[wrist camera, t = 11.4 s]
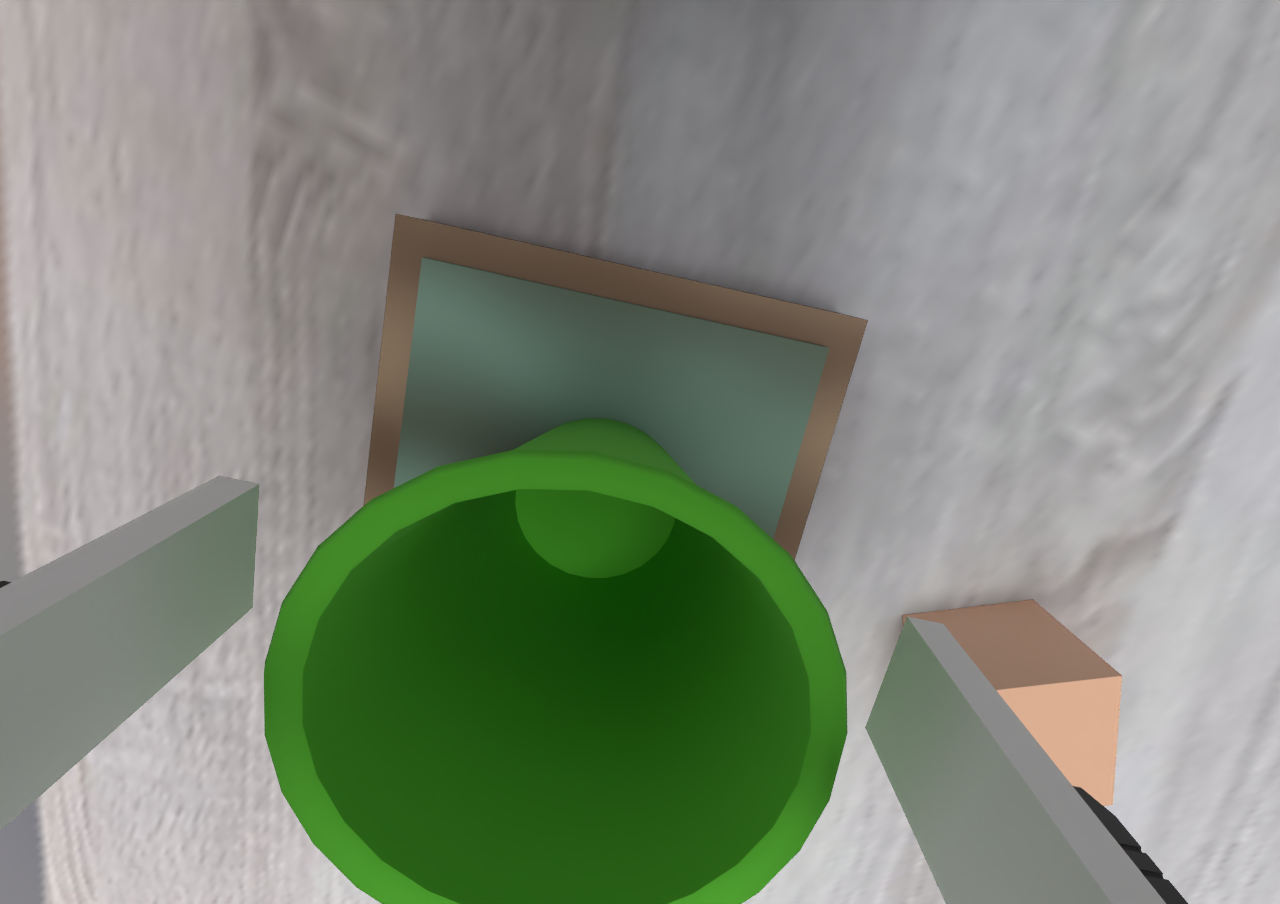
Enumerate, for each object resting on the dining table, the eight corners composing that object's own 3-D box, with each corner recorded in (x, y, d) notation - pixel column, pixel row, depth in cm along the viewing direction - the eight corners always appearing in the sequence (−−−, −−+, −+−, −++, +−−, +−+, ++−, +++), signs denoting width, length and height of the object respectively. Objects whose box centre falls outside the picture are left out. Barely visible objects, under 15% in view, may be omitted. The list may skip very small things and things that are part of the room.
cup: (608, 675, 22) (583, 1041, 12) (393, 504, 21) (138, 753, 10) (802, 489, 21) (975, 726, 10) (584, 286, 19) (516, 311, 8)
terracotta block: (901, 613, 26) (961, 694, 21) (1031, 598, 26) (1122, 676, 21) (904, 722, 27) (961, 820, 22) (1028, 708, 27) (1112, 804, 22)
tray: (428, 220, 22) (390, 213, 18) (838, 313, 23) (872, 321, 19) (381, 597, 25) (343, 647, 22) (734, 665, 26) (748, 722, 23)
